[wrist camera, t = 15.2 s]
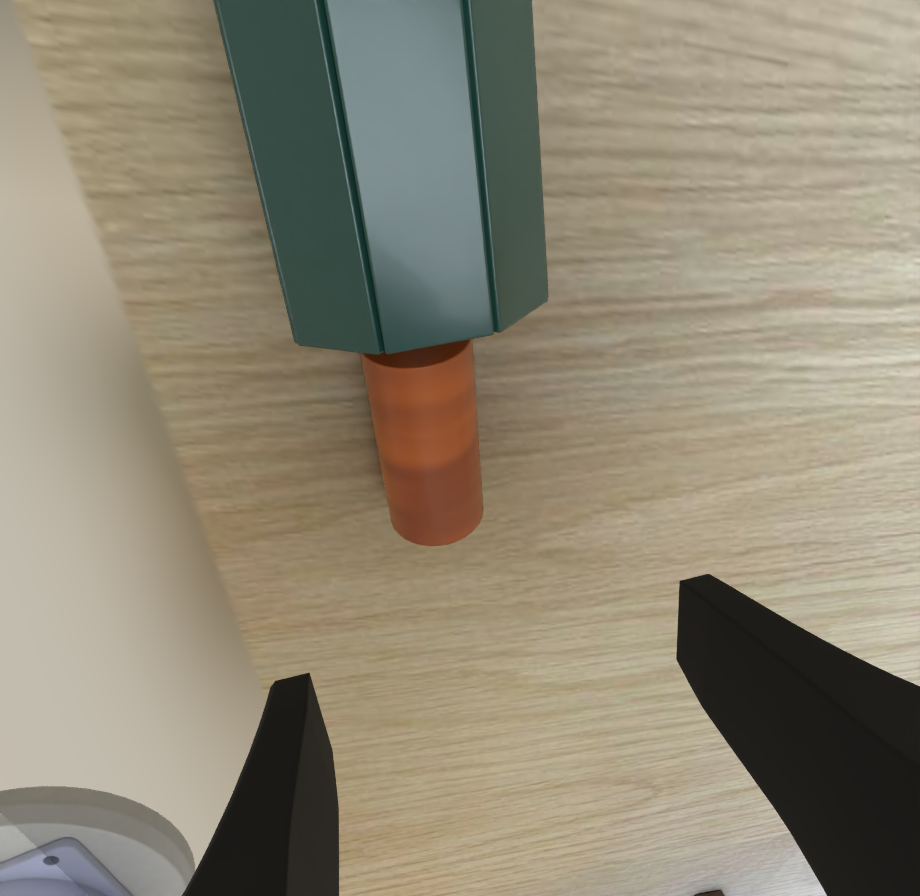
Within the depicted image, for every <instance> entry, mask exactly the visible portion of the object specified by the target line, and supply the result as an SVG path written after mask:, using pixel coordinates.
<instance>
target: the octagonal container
mask: <svg viewBox="0 0 920 896" xmlns="http://www.w3.org/2000/svg"><path fill="white" fill-rule="evenodd" d="M213 1H214V5H215V10H216V14H217V18H218V22H219V26H220V31H221V35H222V39H223V43H224V47H225V52H226V56H227V60H228V64H229V69H230V73H231V77H232V81H233V85H234V90H235V94H236V98H237V102H238V106H239V111H240V115H241V119H242V123H243V127H244V132H245V136H246V140H247V144H248V149H249V153H250V157H251V161H252V165H253V170H254V174H255V178H256V182H257V186H258V191H259V195H260V199H261V203H262V207H263V212H264V216H265V220H266V224H267V229H268V233H269V237H270V241H271V245H272V250H273V254H274V258H275V262H276V266H277V271H278V275H279V279H280V283H281V287H282V292H283V296H284V300H285V304H286V309H287V313H288V317H289V321H290V325H291V330H292V334H293V338H294V342H295V343H297V344H299V345H300V346H308V347H317V348H325V349H334V350H342V351H351V352H359V353H368V354H376V355H379V354H381V353H383V352H385V353H386V354H392V353H398V352H403V351H409V350H414V349H419V348H425V347H430V346H436V345H441V344H447V343H452V342H457V341H463V340H468V339H474V338H479V337H485V336H490V335H493V334H494V332H499V333H500V332H502V331H503V330H505V329H506V328H508V327H509V326H511V325H512V324H514V323H515V322H517V321H518V320H520V319H521V318H523V317H524V316H526V315H527V314H529V313H530V312H532V311H533V310H535V309H536V308H538V307H539V306H541V305H542V304H544V303H545V302H547V301H548V280H547V262H546V245H545V227H544V209H543V191H542V173H541V156H540V138H539V120H538V102H537V84H536V67H535V49H534V31H533V13H532V0H213Z"/></svg>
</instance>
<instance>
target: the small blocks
mask: <svg viewBox="0 0 920 896" xmlns="http://www.w3.org/2000/svg"><path fill="white" fill-rule="evenodd" d="M695 896H724V894H723V892H722V891H716V892H710V893H705V894H699V895H695Z"/></svg>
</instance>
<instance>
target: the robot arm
mask: <svg viewBox="0 0 920 896" xmlns="http://www.w3.org/2000/svg"><path fill="white" fill-rule="evenodd" d="M677 661H678V663H679V665H680V667H681V669H682V671H683V672H684V674H685V676H686V678H687V680H688V682H689V684H690V686H691V688H692V689H693V691H694V693H695V695H696V696H697V698H698V700H699V702H700V704H701V705H702V707H703V708H704V710H705V711H706V713H707V714H708V716H709V717H710V719H711V720H712V721H713V723H714V724H715V726H716V727H717V728H718V730H719V731H720V733H721V734H722V736H723V737H724V738H725V740H726V741H727V743H728V744H729V745H730V747H731V748H732V750H733V751H734V752H735V754H736V755H737V757H738V758H739V759H740V761H741V762H742V764H743V765H744V766H745V768H746V769H747V771H748V772H749V773H750V775H751V776H752V777H753V779H754V780H755V782H756V783H757V784H758V786H759V787H760V789H761V790H762V791H763V793H764V794H765V796H766V797H767V798H768V800H769V801H770V803H771V804H772V805H773V807H774V808H775V810H776V811H777V813H778V814H779V816H780V817H781V819H782V820H783V822H784V823H785V825H786V826H787V828H788V829H789V831H790V832H791V834H792V836H793V837H794V839H795V841H796V843H797V844H798V846H799V848H800V849H801V851H802V853H803V855H804V856H805V858H806V860H807V861H808V863H809V865H810V866H811V868H812V870H813V872H814V873H815V875H816V877H817V878H818V880H819V882H820V883H821V885H822V887H823V889H824V891H825V892H826V894H827V896H920V686H918V685H915V684H913V683H911V682H908V681H906V680H904V679H901V678H899V677H897V676H894V675H892V674H890V673H888V672H886V671H884V670H882V669H879V668H877V667H875V666H873V665H871V664H869V663H867V662H865V661H863V660H861V659H859V658H857V657H855V656H853V655H851V654H849V653H847V652H845V651H843V650H841V649H839V648H837V647H836V646H834V645H832V644H830V643H828V642H826V641H824V640H822V639H821V638H819V637H817V636H815V635H813V634H811V633H810V632H808V631H806V630H804V629H803V628H801V627H799V626H797V625H795V624H794V623H792V622H790V621H788V620H787V619H785V618H783V617H782V616H780V615H778V614H776V613H775V612H773V611H771V610H770V609H768V608H766V607H764V606H763V605H761V604H759V603H758V602H756V601H754V600H753V599H751V598H749V597H748V596H746V595H744V594H743V593H741V592H739V591H738V590H736V589H734V588H732V587H731V586H729V585H727V584H726V583H724V582H722V581H720V580H719V579H717V578H715V577H713V576H712V575H710V574H706V575H702V576H698V577H694V578H690V579H686V580H682V581H680V587H679V611H678V635H677ZM0 896H132V895H131V894H130V893H129V892H128V891H127V890H126V889H125V888H124V887H123V886H122V885H121V884H120V883H119V882H118V881H117V880H116V879H115V878H114V876H113V875H112V874H111V873H110V872H109V871H108V870H107V869H106V868H105V867H104V866H103V865H102V864H101V863H100V862H99V861H98V860H97V859H96V858H95V857H94V856H93V855H92V854H91V853H90V852H89V851H88V850H87V849H86V848H85V847H84V846H83V845H82V844H81V843H80V842H79V841H77V840H75V839H72V838H63V839H60V840H57V841H55V842H52V843H50V844H47V845H45V846H42V847H40V848H37V849H35V850H32V851H30V852H27V853H25V854H22V855H20V856H17V857H15V858H12V859H10V860H7V861H5V862H2V863H0ZM182 896H339V807H338V797H337V787H336V778H335V769H334V761H333V752H332V747H331V744H330V741H329V737H328V734H327V731H326V727H325V724H324V720H323V717H322V714H321V710H320V707H319V704H318V700H317V697H316V693H315V690H314V687H313V683H312V680H311V677H310V673H306V674H302V675H298V676H294V677H290V678H286V679H282V680H278V681H275V682H274V684H273V685H272V686H271V687H270V691H269V695H268V698H267V702H266V705H265V708H264V712H263V715H262V718H261V721H260V724H259V727H258V730H257V732H256V735H255V738H254V741H253V744H252V746H251V749H250V752H249V754H248V757H247V759H246V762H245V764H244V767H243V769H242V772H241V774H240V777H239V779H238V782H237V784H236V787H235V789H234V791H233V794H232V796H231V798H230V801H229V803H228V805H227V807H226V809H225V812H224V814H223V816H222V818H221V820H220V822H219V824H218V827H217V829H216V831H215V833H214V835H213V837H212V840H211V842H210V844H209V846H208V848H207V850H206V852H205V854H204V856H203V858H202V860H201V862H200V864H199V866H198V868H197V869H196V871H195V873H194V875H193V877H192V879H191V881H190V882H189V884H188V886H187V888H186V890H185V891H184V893H183V895H182Z"/></svg>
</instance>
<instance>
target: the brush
mask: <svg viewBox="0 0 920 896" xmlns="http://www.w3.org/2000/svg"><path fill="white" fill-rule="evenodd" d="M360 355H361V360H362V366H363V371H364V377H365V382H366V387H367V393H368V398H369V404H370V409H371V415H372V420H373V426H374V431H375V437H376V442H377V447H378V453H379V458H380V464H381V469H382V475H383V480H384V486H385V491H386V496H387V502H388V507H389V513H390V518H391V523H392V525H393V527H394V529H395V530H396V532H397V533H398V534H399V535H400V536H402V537H403V538H404V539H406V540H408V541H410V542H412V543H415V544H419V545H425V546H440V545H446V544H450V543H454V542H456V541H459V540H461V539H463V538H465V537H466V536H468V535H469V534H470V533H471V532H473V531H474V530H475V528H476V527H477V526H478V524H479V523H480V521H481V519H482V515H483V497H482V481H481V466H480V450H479V434H478V419H477V403H476V387H475V372H474V356H473V340H472V339H468V340H463V341H457V342H452V343H447V344H441V345H436V346H430V347H425V348H419V349H414V350H409V351H403V352H398V353H392V354H386V353H385V352H383V353H381V354H379V355H376V354H368V353H360Z"/></svg>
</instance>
